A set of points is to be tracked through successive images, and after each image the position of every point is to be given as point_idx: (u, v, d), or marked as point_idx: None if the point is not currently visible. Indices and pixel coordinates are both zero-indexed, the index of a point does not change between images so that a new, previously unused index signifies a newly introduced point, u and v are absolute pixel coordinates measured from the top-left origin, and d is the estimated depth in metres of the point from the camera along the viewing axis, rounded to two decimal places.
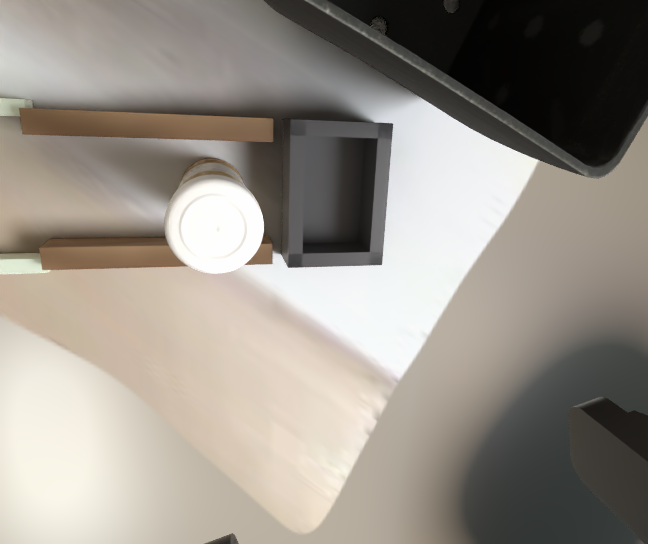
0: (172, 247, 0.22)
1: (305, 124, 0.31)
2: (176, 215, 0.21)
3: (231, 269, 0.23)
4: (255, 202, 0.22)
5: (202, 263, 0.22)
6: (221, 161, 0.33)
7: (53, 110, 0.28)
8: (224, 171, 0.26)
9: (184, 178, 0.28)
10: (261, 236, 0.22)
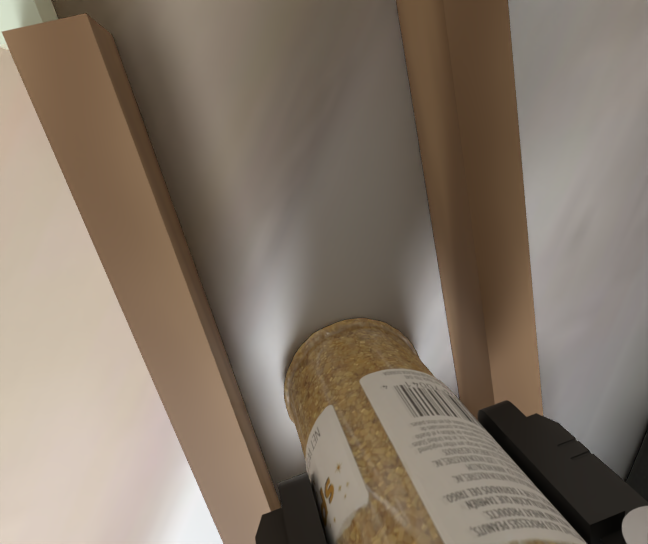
0: None
1: None
2: None
3: None
4: None
5: None
6: None
7: (505, 20, 0.10)
8: None
9: (491, 447, 0.09)
10: None
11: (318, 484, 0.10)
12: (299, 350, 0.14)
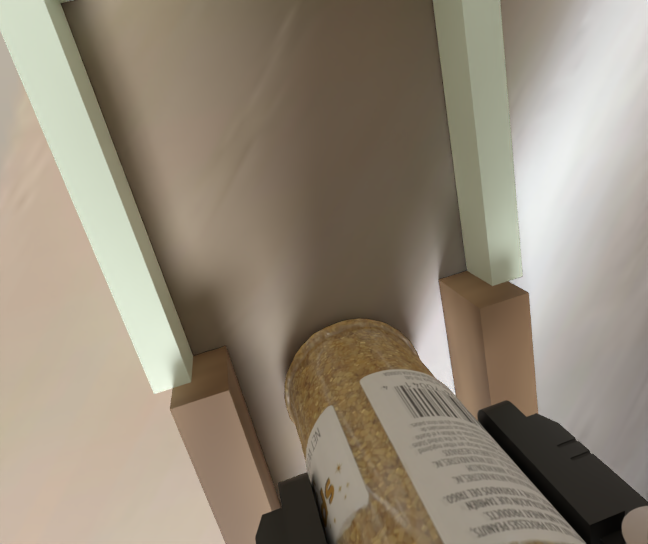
0: None
1: None
2: None
3: None
4: None
5: None
6: None
7: (530, 349, 0.14)
8: None
9: (491, 448, 0.09)
10: None
11: (318, 485, 0.10)
12: (299, 350, 0.14)
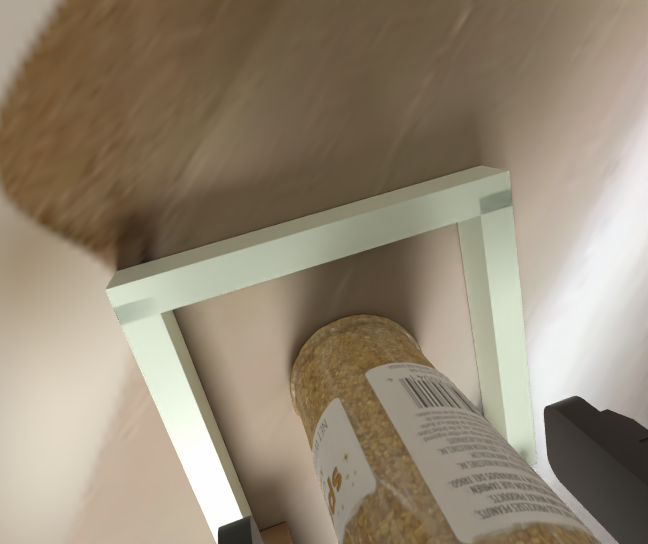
0: None
1: None
2: None
3: None
4: None
5: None
6: None
7: None
8: None
9: (494, 436, 0.10)
10: None
11: (325, 474, 0.11)
12: (305, 345, 0.14)
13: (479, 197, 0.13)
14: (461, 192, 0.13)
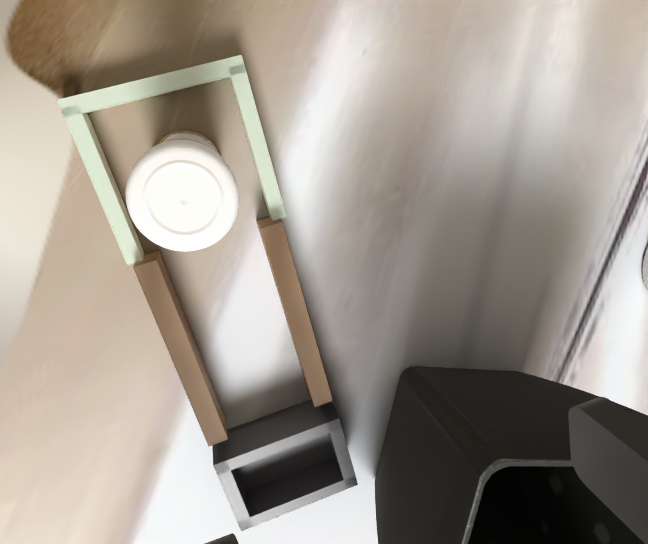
0: (145, 158, 0.19)
1: (338, 429, 0.37)
2: (184, 155, 0.19)
3: (141, 229, 0.19)
4: (225, 232, 0.20)
5: (137, 196, 0.19)
6: None
7: (288, 247, 0.32)
8: None
9: (202, 140, 0.26)
10: (191, 250, 0.20)
11: None
12: (157, 144, 0.30)
13: (228, 67, 0.29)
14: (219, 64, 0.29)
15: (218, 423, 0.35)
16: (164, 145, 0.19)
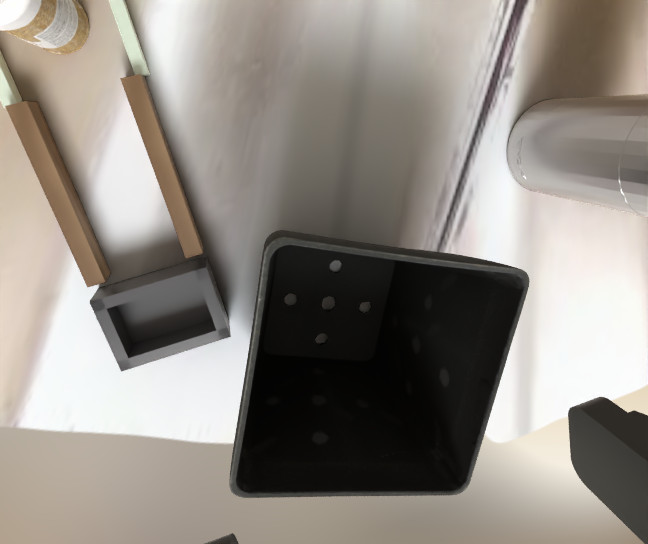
0: None
1: (206, 278, 0.41)
2: None
3: None
4: (22, 10, 0.25)
5: None
6: (86, 24, 0.36)
7: (147, 98, 0.37)
8: (58, 2, 0.29)
9: None
10: None
11: None
12: None
13: None
14: None
15: (95, 265, 0.40)
16: None
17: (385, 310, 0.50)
